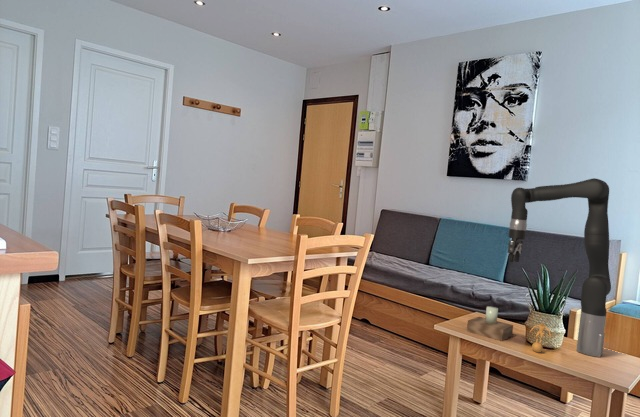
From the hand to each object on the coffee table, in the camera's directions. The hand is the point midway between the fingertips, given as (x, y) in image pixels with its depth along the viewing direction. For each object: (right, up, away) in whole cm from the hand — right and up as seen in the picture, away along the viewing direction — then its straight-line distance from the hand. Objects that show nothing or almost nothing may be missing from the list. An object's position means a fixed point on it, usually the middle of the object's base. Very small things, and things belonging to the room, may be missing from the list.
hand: (513, 261), depth 219 cm
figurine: (-4, -34, -32) cm, 47 cm away
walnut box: (-16, -32, -11) cm, 37 cm away
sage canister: (-15, -27, -11) cm, 33 cm away
